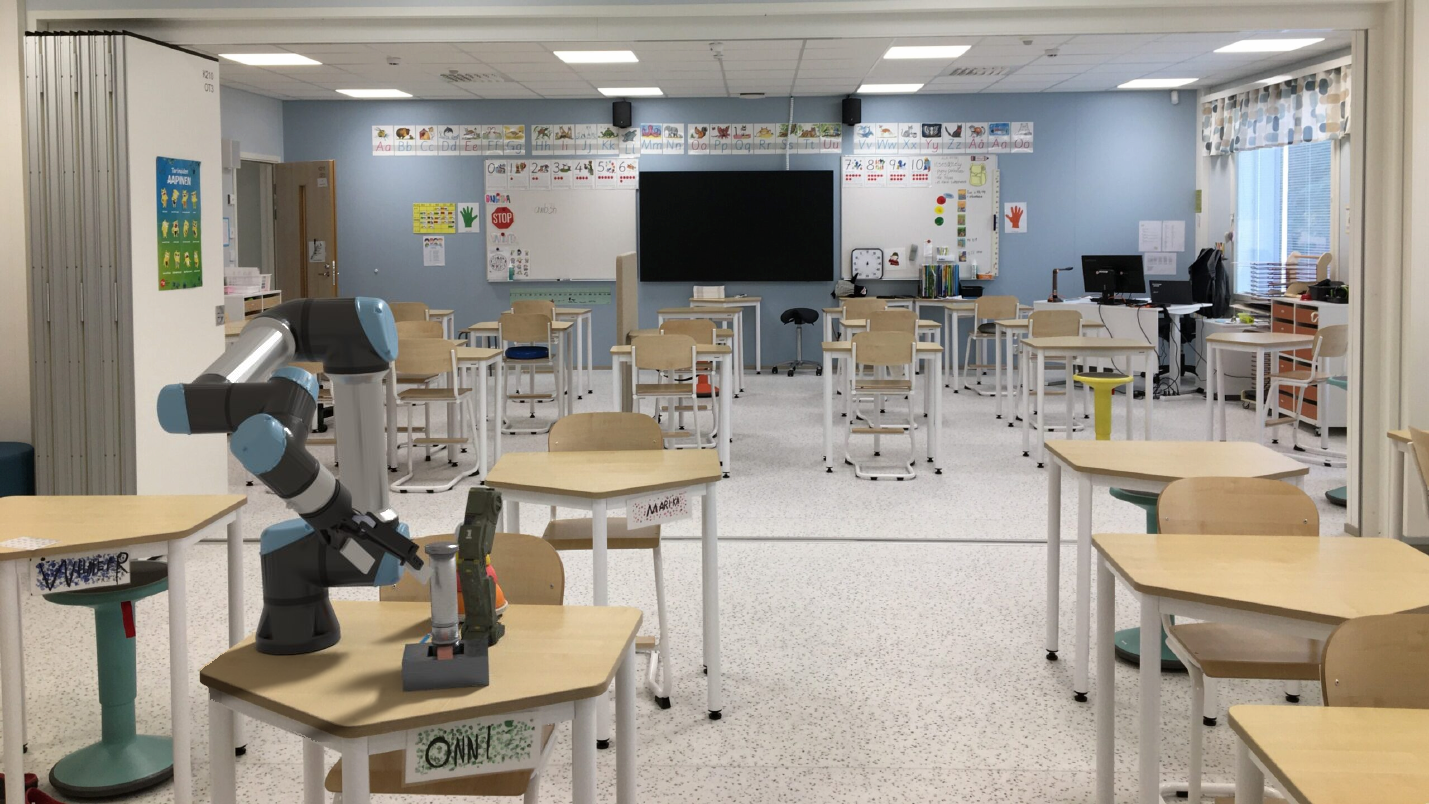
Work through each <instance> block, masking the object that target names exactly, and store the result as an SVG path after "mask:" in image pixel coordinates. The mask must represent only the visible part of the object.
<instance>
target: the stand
mask: <svg viewBox="0 0 1429 804" xmlns="http://www.w3.org/2000/svg"><path fill="white" fill-rule="evenodd" d="M437 653H438V656H433V645H432V642H431V641H429V642H428V641H426V642H425V643H420V642H416V643H405V644H404V649H403V653H402V658H401V682H402V693H407V692H409V693H410V692H418V691H419V692H420V691H421V692H422V691H434V690H443V689H444V690H445V689H458V688H469V687H481V686H482V687H483V686H484V687H485V686H490V664H489V647H488V638H480V639H467V640H460V641H459V655H453V646H450V647H438V650H437Z"/></svg>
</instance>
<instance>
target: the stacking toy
mask: <svg viewBox="0 0 1429 804" xmlns="http://www.w3.org/2000/svg"><path fill="white" fill-rule="evenodd" d="M463 524H464V520H462V521H461V522H459V523H458V524H457V526H456V527H455V530H454V539H455V541H456V543H457V542H458V536H459V530H460V526H462V525H463ZM463 560H464V558H463ZM457 561H458V552H456V578H457V604H458V618H459V622H463V623H465V607H464V601H463V595H462V589H461V583H460V578H459V573H458V567H457ZM486 572H487V576H486V577H489V575H491V576H492V577H493V578H494V582H495V584H496V606H495V611H496V614H497V617H499V615H501V614H503V613H504V612H505V611H506V610H507V608H508V604H509V603H508V601H507V600H506V599H505V597H504V593H503V591H502V589H501V588H500V586H499V585H498V584H497V583H498V575H497V574H496V573H497V572H496V571H495V569H494V568H493V566H492V565H491V557H490V554H487V557H486Z"/></svg>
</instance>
